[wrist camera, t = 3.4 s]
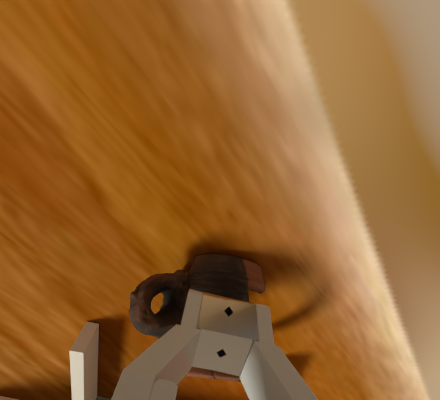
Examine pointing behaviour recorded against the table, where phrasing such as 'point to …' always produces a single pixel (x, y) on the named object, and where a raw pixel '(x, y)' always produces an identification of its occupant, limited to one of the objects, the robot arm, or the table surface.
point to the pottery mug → (200, 281)
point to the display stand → (85, 364)
